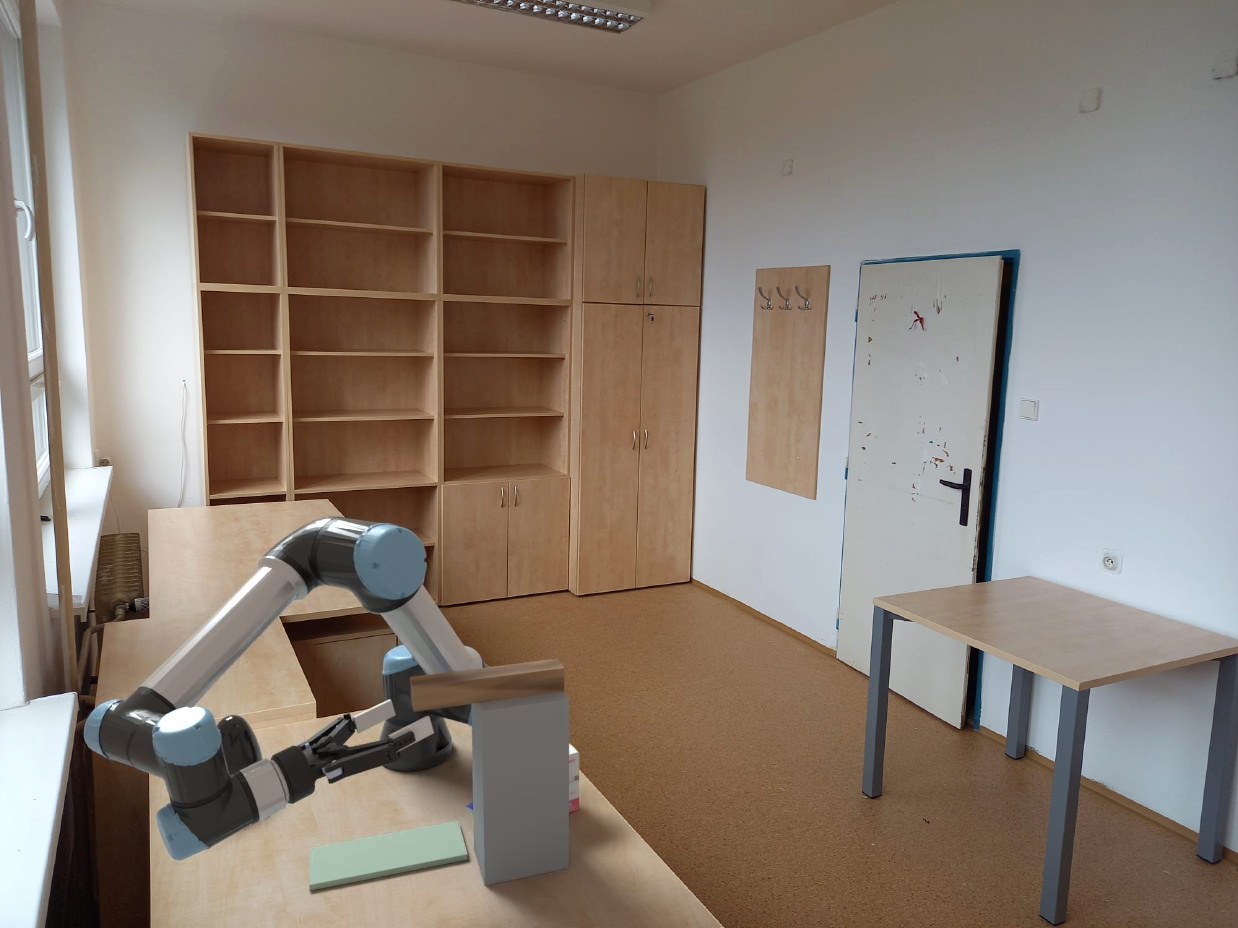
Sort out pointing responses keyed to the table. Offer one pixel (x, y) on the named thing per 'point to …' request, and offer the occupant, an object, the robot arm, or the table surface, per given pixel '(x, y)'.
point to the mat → (385, 854)
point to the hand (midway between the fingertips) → (411, 715)
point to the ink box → (573, 779)
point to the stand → (521, 786)
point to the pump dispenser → (238, 743)
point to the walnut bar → (486, 684)
